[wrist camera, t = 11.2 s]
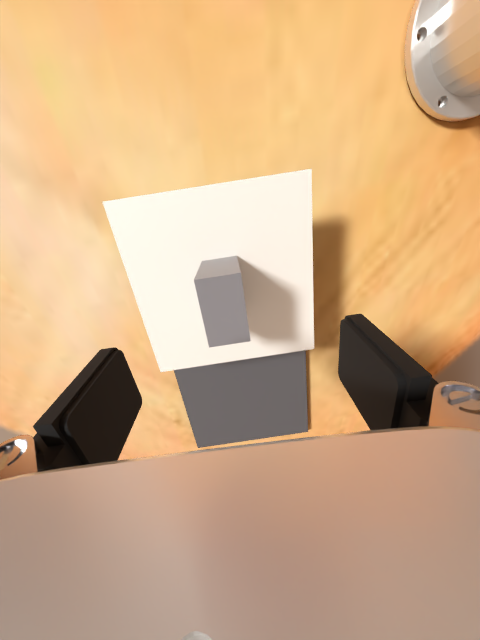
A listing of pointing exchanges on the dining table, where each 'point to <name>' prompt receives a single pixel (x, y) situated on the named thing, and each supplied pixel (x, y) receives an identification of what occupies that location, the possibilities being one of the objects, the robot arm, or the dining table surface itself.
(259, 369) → the mat
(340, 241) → the dining table surface
